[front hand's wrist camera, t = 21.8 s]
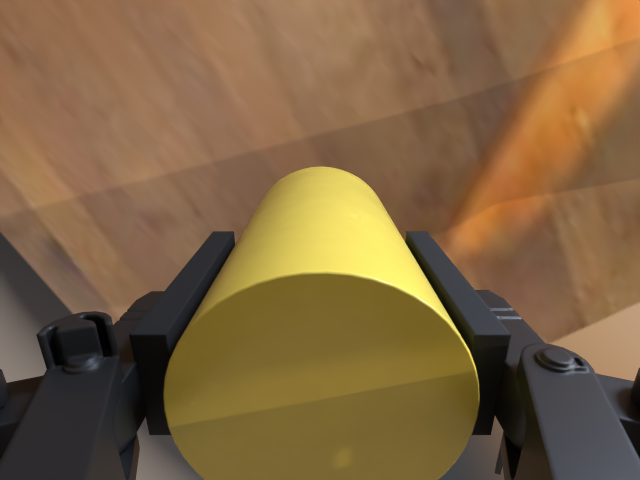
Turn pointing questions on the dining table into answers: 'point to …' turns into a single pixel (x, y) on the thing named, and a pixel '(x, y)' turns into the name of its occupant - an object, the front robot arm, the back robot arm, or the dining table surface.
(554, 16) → the dining table surface
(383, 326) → the can
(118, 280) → the dining table surface
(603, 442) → the front robot arm
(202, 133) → the dining table surface
